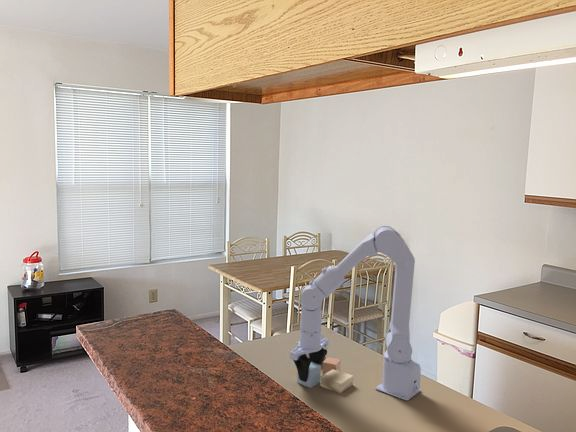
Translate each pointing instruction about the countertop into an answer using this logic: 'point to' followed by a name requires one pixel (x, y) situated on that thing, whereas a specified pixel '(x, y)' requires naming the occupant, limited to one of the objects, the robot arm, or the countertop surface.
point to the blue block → (311, 375)
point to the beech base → (336, 381)
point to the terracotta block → (330, 365)
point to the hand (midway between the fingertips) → (308, 377)
